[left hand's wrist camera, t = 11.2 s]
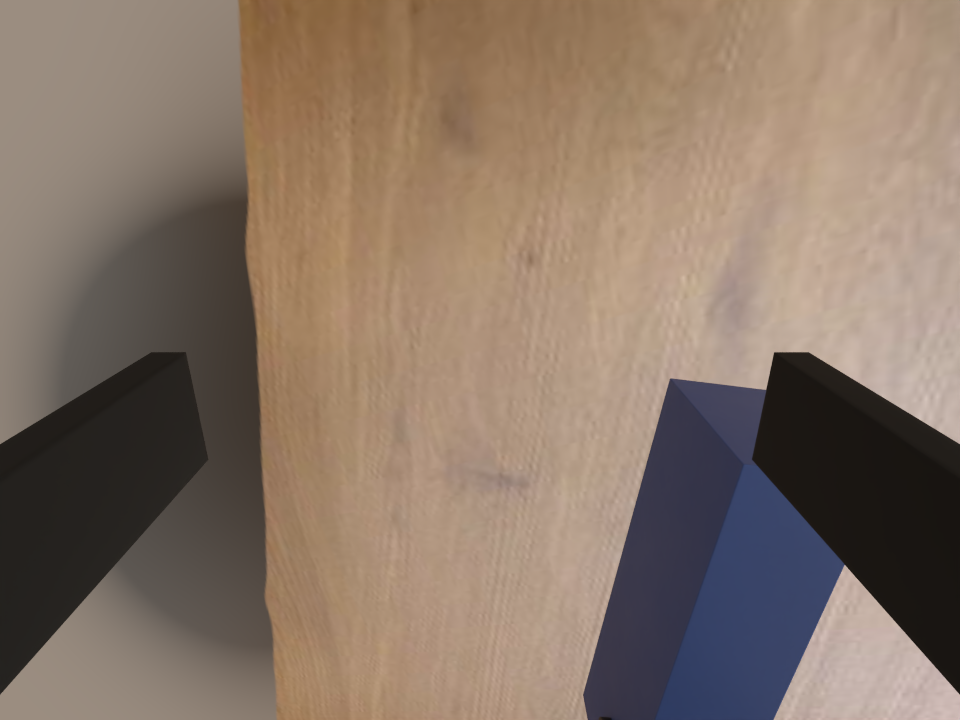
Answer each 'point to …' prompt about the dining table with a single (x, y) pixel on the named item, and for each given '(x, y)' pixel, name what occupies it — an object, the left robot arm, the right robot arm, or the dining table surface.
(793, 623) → the bar
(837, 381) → the left robot arm
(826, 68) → the dining table surface
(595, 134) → the dining table surface
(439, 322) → the dining table surface
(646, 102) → the dining table surface
